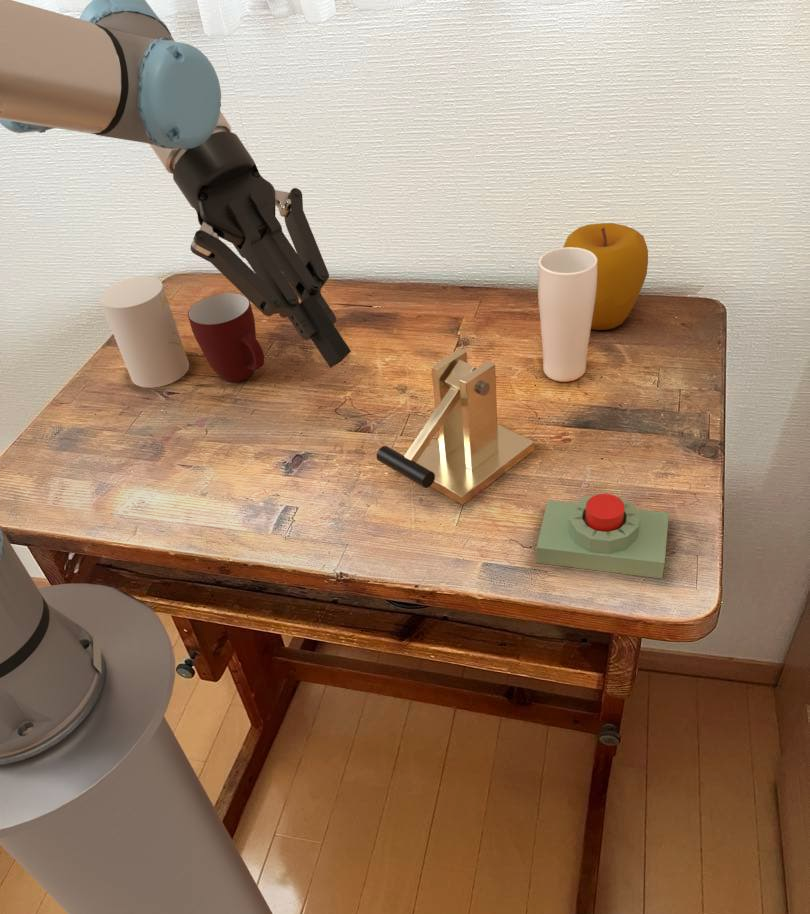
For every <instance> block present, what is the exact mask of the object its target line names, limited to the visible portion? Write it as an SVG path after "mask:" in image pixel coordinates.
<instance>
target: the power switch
mask: <svg viewBox="0 0 810 914" xmlns="http://www.w3.org/2000/svg"><path fill="white" fill-rule="evenodd" d="M459 360H461V361H464V362H466V363H468V351H467V350H465V349H463V348H458V349H457V350H455V351H453V352H452V353H450V354H449V355H447V356H445V357H444V358H443V359H441V360H439V361H438V362H436V363H435V364H433V365H431V366H430V367H431V377H432V387H433V388H432V389H433V396H434V397H433V399H434V408H435V410H436V408H437V407H438V405H439V404H440V402H441V401H442V399H443V398H444V396H445V395H446V393H447V392H448V390H449V389H450V387H449V386H448V385H447V384H446V383H445V380H446V379H447V377H448V376H449V374H450V373H451V371H452V370H453V368H454V367H455V365H456V364H457V362H458V361H459ZM496 374H497V373H496V363H495V362H492V361H490V360H486V361H485V362H484V363H482V364H480V365H479V366H478V367H476V369H475V370H474V371H472V372H471V373H469V374H468V375H466V376H465V377H463V378H462V379H460V393H461V397H460V399H459V400H458V402H457V403H456V405H455V406H454V408H453V409H452V411H451V412H450V413H449V415H448V416H447V418H446V419H445V421H444V422H443V424H442V425H441V427H440V428H439V430H438V431H437V439H436V440H435V441H433V442H431V443H429V444H428V446H427V447H426V449H425V450H424V452H423V453H422V455H421V456H420V458H419V459H418V461H417V462H416V463H418V464H419V465H421V466H423V467H425V468H426V469H428V470H430V471H432V472H433V473H434V474H435V480H434V482H433V484H432V485H431V486H430V487H429V488H432V489H434V490H436V491H437V492H438V493H440V494H441V495H442V494H443V495H444V496H446V497H447V498H448V499H451V500H453V501H454V502H456V503H458V504H460V505H461V506H464V505H465V504H466V503H468V502H469V501H470V500H472V499H473V498H475V496H477V495H478V494H479V493H481V492H482V491H483V490H484V489H486V488H487V487H488V486H490V485H491V484H493V482H495V481H496V480H497V479H499V478H500V477H501V476H503V475H504V474H505V473H506V472H508V471H510V470H511V469H512V468H513V467H515V466H516V465H517V464H518V463H520V462H521V461H523V460H524V459H525V458H526V457H527V456H529V455H530V454H531V453H533V452H534V451H535V441H534V440H532V439H530V438H528V437H527V436H523V435H521V434H519V433H517V432H515V431H513V430H511V429H510V428H508V427H505V426H503V425H501V424H499V423H498V403H497V401H498V400H497V375H496Z"/></svg>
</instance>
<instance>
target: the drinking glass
mask: <svg viewBox="0 0 810 914" xmlns="http://www.w3.org/2000/svg"><path fill="white" fill-rule="evenodd" d="M597 262H598V261H597V257H596V255H595V254H593V253H592V252H590V251H588V250H586V249H582V248H575V247H566V248H563V247H559V248H554V249H551V250H549V251H547V252H545V253H544V254H542V255H541V257H539V260H538V269H537V302H538V314H539V325H540V336H541V348H542V370H543V374H544V375H545V376H546V377H547V378H549V379H550V380H552V381H555V382H560V383H568V382H573V381H576V380H578V379H580V378H581V377H582V376H584V374H585V372H586V371H587V361H588V359H587V358H588V351H589V345H590V338H591V337H590V336H591V331H592V329H591V325H592V318H593V312H594V305H595V298H596V290H597Z"/></svg>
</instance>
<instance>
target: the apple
mask: <svg viewBox="0 0 810 914" xmlns="http://www.w3.org/2000/svg"><path fill="white" fill-rule="evenodd" d="M647 245H648V244H647V243H646V240H645V236H644V235H643V234H641V233H640V232H639V231H638V230H636V229H635V228H633V227H629V226H628V225H624V224H619V223H614V222H601V223H592V224H591V223H589V224H586V225H583V226H580V227H578V228H576V229H575V230H573V231H572V232H571V233H570V234H569V235H568V236H567V237H566V239H565V241H564V244H563V246H562V248H566V247H575V248H582V249H586V250H588V251H590V252H592V253H593V254H595V255H596V257H597V261H598V262H597V290H596V298H595V305H594V312H593V318H592V325H591V330H593V331H594V330H595V331H604V330H611V329H615V328H616V327H618V326H621V325H622V324H624V322H625V320H626V319H627V317H628V316H629V315H630V313H631V311H632V310H633V307H634V306H635V304H636V302H637V300H638V297H639V296H640V293H641V290H642V289H643V285H644V284H645V281H646V277H647V274H648V267H649V249H648V246H647Z"/></svg>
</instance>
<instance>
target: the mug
mask: <svg viewBox="0 0 810 914" xmlns="http://www.w3.org/2000/svg"><path fill="white" fill-rule="evenodd" d="M251 304H252V303H251V301H250V300H249V299H248V298H247V297H245V296H244V295H243V294H242V293H236V292H221V293H217V294H216V293H215V294H212V295H208V296H206V297H204V298H202V299H200V300H198V301H196V302H195V303H193V305H191V307H189V309H188V312H187V317H188V321H189V325H190V328H191V332H192V334H193V336H194V338H195V340H196V343H197V345H198V346H199V348H200V349H201V353H203V355H204V357H205V359H206V361H207V363H208V364H209V367H210V368H211V369H212V370H213V371H214V372H215V373H216V374H218V376H219V377H220V378H221V379H223V380H224V381H225V382H226V383H230V384H231V383H232V384H235V383H242V382H244V381H245V380H248V379H249V378H251V376H252V375H253V372H254V371H256V370H259V369H261V368H262V367H263V366H264V364H265V360H266V359H265V354H264V351H263V348H262V346H261V344H260V343H259V340H257V332H256V331H257V330H256V320H255V316H254V311H253V308H252V305H251Z"/></svg>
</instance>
